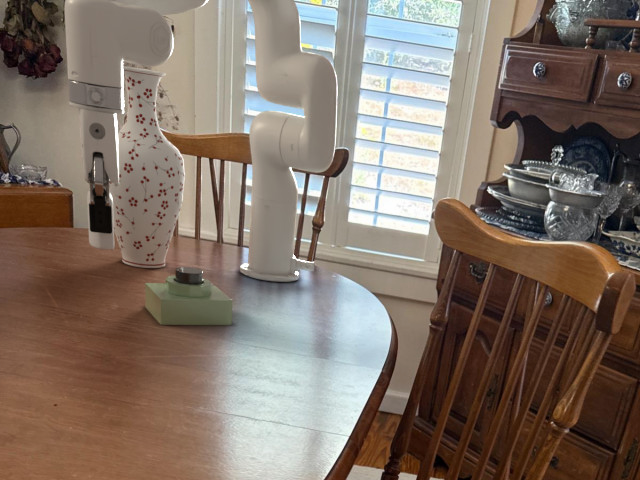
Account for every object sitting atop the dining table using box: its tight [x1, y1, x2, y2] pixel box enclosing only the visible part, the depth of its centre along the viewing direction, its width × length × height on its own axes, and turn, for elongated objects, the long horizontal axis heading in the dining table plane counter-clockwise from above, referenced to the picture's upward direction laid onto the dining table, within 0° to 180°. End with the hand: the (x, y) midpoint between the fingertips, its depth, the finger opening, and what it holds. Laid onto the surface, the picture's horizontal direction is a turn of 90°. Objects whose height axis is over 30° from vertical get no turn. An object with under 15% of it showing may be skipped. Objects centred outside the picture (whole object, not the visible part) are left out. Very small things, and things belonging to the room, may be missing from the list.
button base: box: [144, 274, 234, 326], centre depth 131 cm, size 12×10×6 cm
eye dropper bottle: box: [86, 178, 115, 251], centre depth 120 cm, size 4×6×12 cm
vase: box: [109, 65, 186, 269], centre depth 151 cm, size 16×16×35 cm
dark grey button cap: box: [174, 266, 204, 285], centre depth 129 cm, size 4×4×2 cm
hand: (101, 227), depth 121 cm, fingers closed on eye dropper bottle, 5 cm apart
